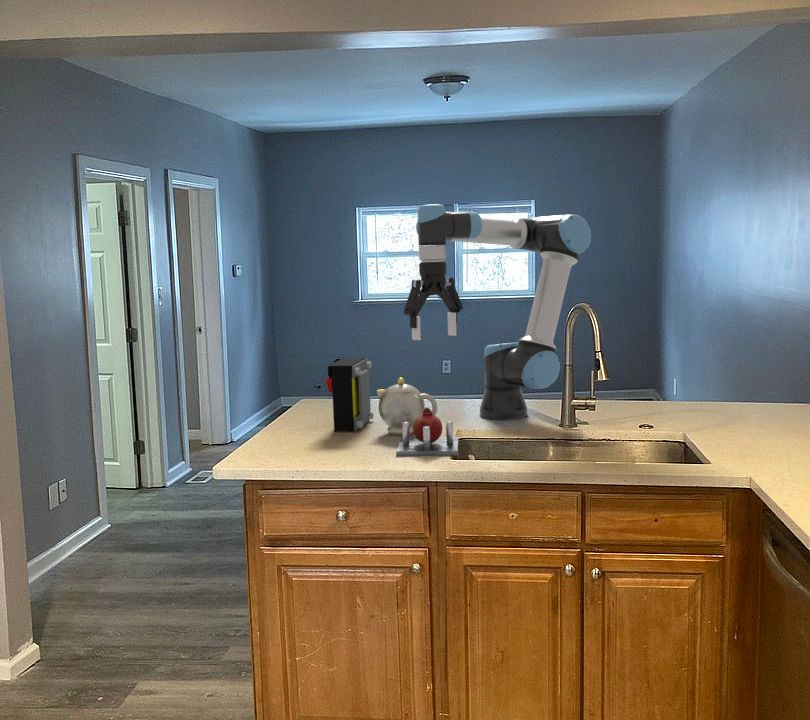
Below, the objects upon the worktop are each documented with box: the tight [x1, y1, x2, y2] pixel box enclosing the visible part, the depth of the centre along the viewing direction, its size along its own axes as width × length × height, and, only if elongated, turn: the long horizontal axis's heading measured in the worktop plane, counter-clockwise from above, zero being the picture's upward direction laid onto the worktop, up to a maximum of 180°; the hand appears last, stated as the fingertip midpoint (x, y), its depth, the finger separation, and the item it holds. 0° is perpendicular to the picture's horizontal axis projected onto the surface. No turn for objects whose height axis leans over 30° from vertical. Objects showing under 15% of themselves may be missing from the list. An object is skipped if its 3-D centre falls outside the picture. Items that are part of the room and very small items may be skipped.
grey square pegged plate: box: [395, 420, 459, 457], centre depth 228 cm, size 16×16×7 cm
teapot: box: [376, 377, 438, 436], centre depth 248 cm, size 18×14×16 cm
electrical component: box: [325, 357, 374, 433], centre depth 260 cm, size 18×10×20 cm, turn 168°
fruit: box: [413, 406, 443, 444], centre depth 228 cm, size 8×8×10 cm
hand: (434, 337), depth 236 cm, fingers open, 13 cm apart
